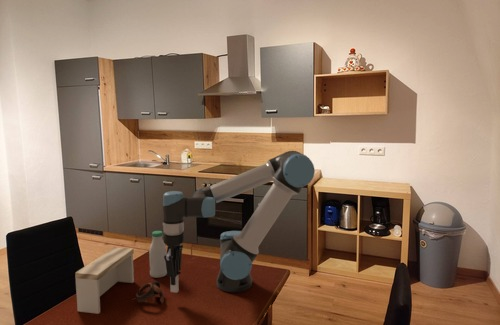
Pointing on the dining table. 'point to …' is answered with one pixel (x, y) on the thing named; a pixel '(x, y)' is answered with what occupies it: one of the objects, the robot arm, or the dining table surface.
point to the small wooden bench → (102, 277)
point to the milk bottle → (157, 256)
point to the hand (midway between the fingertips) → (174, 291)
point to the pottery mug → (150, 292)
